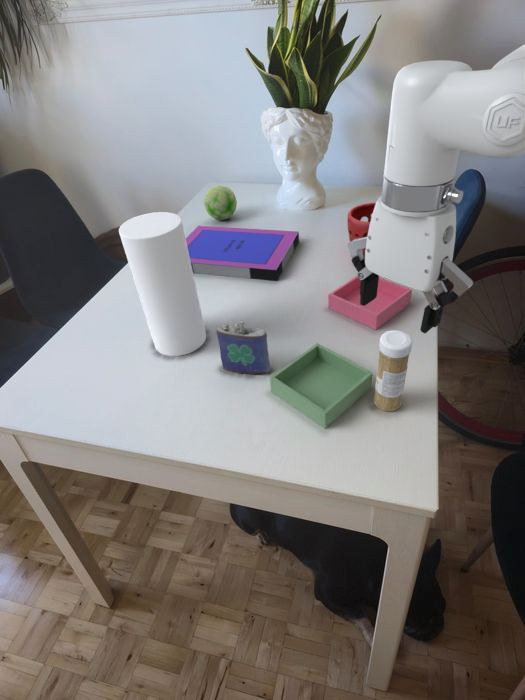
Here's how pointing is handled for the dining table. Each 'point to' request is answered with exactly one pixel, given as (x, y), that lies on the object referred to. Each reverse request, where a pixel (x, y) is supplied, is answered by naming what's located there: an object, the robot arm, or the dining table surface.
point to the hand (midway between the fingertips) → (397, 314)
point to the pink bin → (376, 311)
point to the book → (241, 251)
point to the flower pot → (355, 225)
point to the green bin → (321, 384)
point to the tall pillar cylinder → (164, 281)
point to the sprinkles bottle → (392, 369)
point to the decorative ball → (220, 202)
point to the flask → (243, 349)
